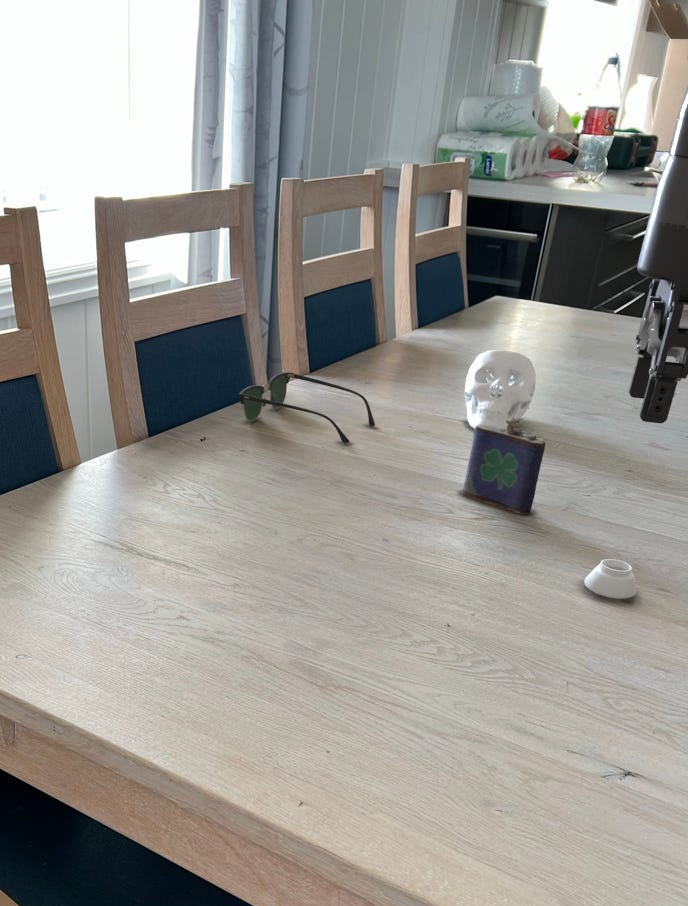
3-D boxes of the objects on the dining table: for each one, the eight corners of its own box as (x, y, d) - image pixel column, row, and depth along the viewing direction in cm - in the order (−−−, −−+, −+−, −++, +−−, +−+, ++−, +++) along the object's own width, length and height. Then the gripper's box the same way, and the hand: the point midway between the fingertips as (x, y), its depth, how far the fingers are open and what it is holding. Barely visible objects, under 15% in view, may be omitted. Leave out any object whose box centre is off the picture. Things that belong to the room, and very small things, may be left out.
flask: (458, 493, 123) (475, 410, 118) (470, 488, 125) (487, 406, 120) (524, 516, 118) (545, 430, 113) (536, 510, 120) (556, 425, 114)
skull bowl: (453, 422, 146) (470, 343, 146) (454, 448, 159) (470, 375, 160) (525, 432, 143) (542, 351, 143) (520, 458, 156) (536, 384, 157)
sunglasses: (339, 449, 136) (344, 414, 134) (233, 425, 143) (236, 391, 140) (382, 422, 149) (387, 389, 146) (283, 401, 156) (286, 369, 153)
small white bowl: (637, 605, 98) (630, 584, 102) (645, 579, 97) (638, 558, 101) (586, 597, 99) (581, 577, 103) (593, 571, 98) (588, 551, 102)
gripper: (765, 231, 75) (702, 436, 83) (728, 214, 87) (677, 394, 95) (662, 223, 76) (610, 425, 84) (640, 207, 88) (596, 385, 96)
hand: (645, 408), depth 90 cm, fingers open, 8 cm apart
